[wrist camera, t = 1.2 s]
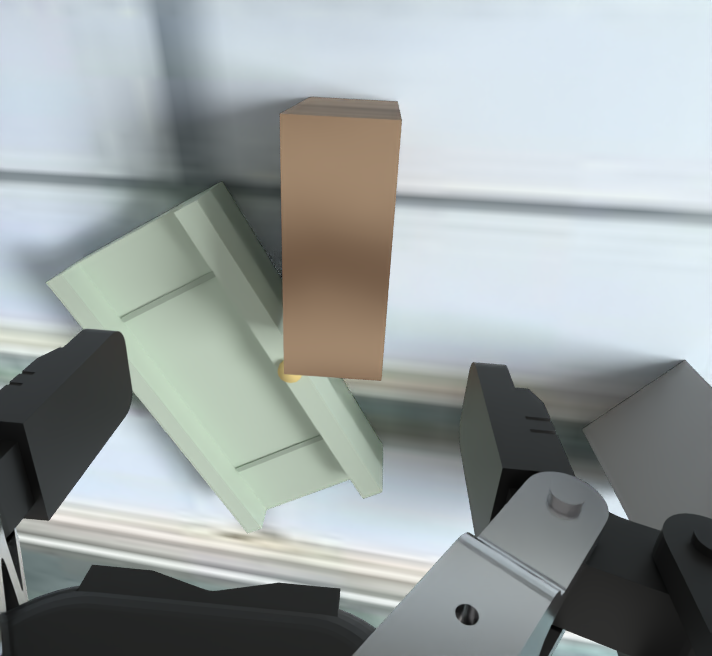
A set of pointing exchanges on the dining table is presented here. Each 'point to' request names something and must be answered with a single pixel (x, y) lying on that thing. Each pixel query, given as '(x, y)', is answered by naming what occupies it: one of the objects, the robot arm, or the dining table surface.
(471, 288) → the dining table surface
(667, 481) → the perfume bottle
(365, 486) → the ledge
